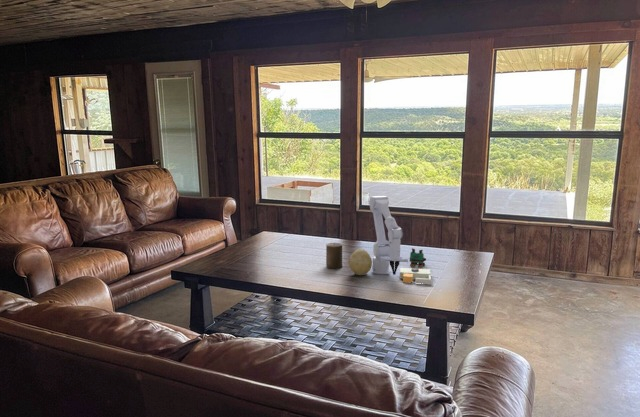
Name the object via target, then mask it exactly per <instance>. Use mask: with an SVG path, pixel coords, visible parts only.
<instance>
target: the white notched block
mask: <svg viewBox="0 0 640 417" xmlns="http://www.w3.org/2000/svg"><path fill="white" fill-rule="evenodd" d="M404 273H407V274H413V280H415V283H421V284H420V285H425V284H431V285H432V277H431V269H430V268H417V267H416V268H414V267H413V268H412V267H399V279H403V275H404ZM422 283H423V284H422Z"/></svg>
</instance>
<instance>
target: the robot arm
mask: <svg viewBox="0 0 640 417" xmlns="http://www.w3.org/2000/svg"><path fill="white" fill-rule="evenodd" d="M389 200H390V199H389V197H388V196H387V195H379V196H373V195H372V196H370V197H369V201H368V202H369V203H368V204H369V209H370V212H371V213H372V215H373V221H374V228H375V235H376V241H375V242H374V244H373V250H372V251H373V256H372V267H371V269H372V271H371V272H372V274H379V275H390V271H391V272H392V275H393V276H394V275H396V274H397V269H398V267H399V266H400V262H401V263H409V258H408V257H404V256H403V257H402V256H401V239H402V238H403V235H404V233H403V229H402V228H401V227H400V226H398V224H397V222H396V219H395V217H393V216H392V215H391V212H390V208H389V203H390V202H389ZM383 217H384V219H385V220H383ZM384 224H385V225H384ZM385 226H386V229H387V231H388V232H387V237H388V240H387V238H386V232H385ZM390 268H391V269H390Z"/></svg>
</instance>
